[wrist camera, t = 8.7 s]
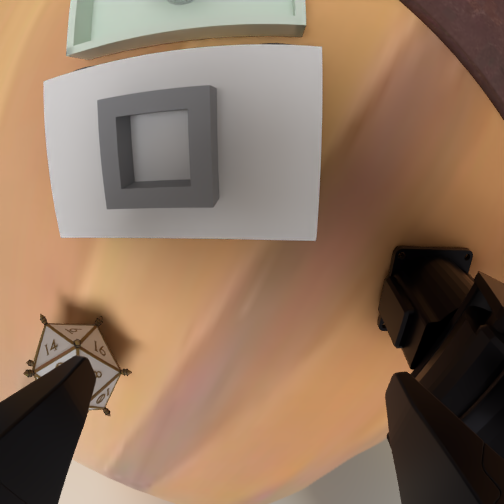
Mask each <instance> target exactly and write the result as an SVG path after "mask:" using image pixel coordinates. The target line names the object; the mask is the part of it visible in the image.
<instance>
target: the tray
mask: <svg viewBox="0 0 504 504" xmlns="http://www.w3.org/2000/svg"><path fill="white" fill-rule="evenodd" d="M305 27H306V5H305V0H194V1H193V2H191V3H188V4H185V5H174V4H171V3H169V2H168V1H167V0H71V3H70V12H69V22H68V34H67V51H66V56H69V57H74V58H80V59H85V60H90V59H94V58H98V57H102V56H106V55H110V54H114V53H118V52H123V51H127V50H132V49H137V48H142V47H148V46H153V45H159V44H166V43H173V42H180V41H188V40H198V39H208V38H222V37H242V36H289V37H302V35H303V32H304V30H305Z"/></svg>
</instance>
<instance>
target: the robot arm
mask: <svg viewBox="0 0 504 504" xmlns="http://www.w3.org/2000/svg"><path fill="white" fill-rule="evenodd" d="M401 252H403V255H402V256H401V257H398V255H399V254H400V253H401ZM466 255H467V257H466V258H465V256H466ZM472 257H473V254H472V252H471V251H470V250H469V249H467V248H444V247H414V246H399V247H397V248H396V249H395V250H394V252H393V256H392V261H391V266H390V271H389V276H388V277H387V278H386V279H385V281H384V286H383V291H382V295H381V300H380V304H379V308H378V310H379V313H380V315H379V319H378V327H379V329H380V330H381V331H388V333H389V335H390V337H391V340H392V342H393V344H394V346H395V347H396V348H402V351H403V353H404V355H405V357H406V360H407V362H408V364H409V367H410V369H413V370H414V371H413V372H412V373H411V374H409V373H408V372H398V373H394V374H393V376H392V378H391V381H390V383H389V385H388V388H387V390H386V394H385V400H386V408H387V417H388V426H389V432H388V434H387V439H388V442H389V444H390V447H391V449H392V454H393V459H394V464H395V469H396V474H397V480H398V485H399V491H400V497H401V503H402V504H504V283H502V282H500V281H498V280H496V279H494V278H492V277H490V276H488V275H486V274H484V273H482V272H480V271H478V273H477V275H476V277H475V278H474V279H473V278H472V277H471V276H470V275H469V274H468V272H469V268H470V265H471V261H472ZM383 324H385V325H383ZM95 384H96V375H95V372H94V370H93V368H92V365H91V363H90V361H89V359H88V358H87V357H85V356H80V355H75V356H73V357H72V358H70V359H68V360H67V361H65V362H64V363H62V364H60V365H59V366H57V367H56V368H54V369H52V370H51V371H49V372H48V373H46V374H44V375H43V376H41V377H40V378H38V379H37V380H35V381H33V382H32V383H30V384H29V385H27V386H25V387H24V388H22V389H21V390H19V391H18V392H16V393H14V394H13V395H11V396H10V397H8V398H6V399H5V400H3V401H2V402H0V504H58V502H59V498H60V495H61V491H62V488H63V485H64V482H65V479H66V475H67V472H68V469H69V466H70V463H71V460H72V457H73V454H74V451H75V449H76V446H77V443H78V440H79V437H80V435H81V432H82V429H83V426H84V423H85V420H86V417H87V413H88V409H89V406H90V402H91V398H92V394H93V391H94V387H95Z"/></svg>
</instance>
